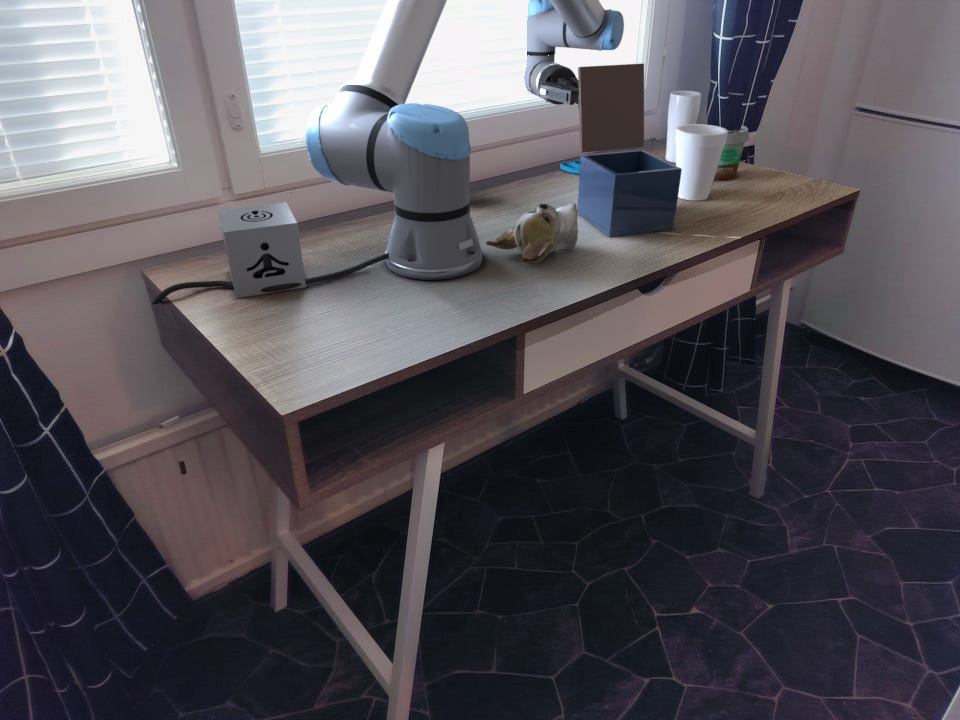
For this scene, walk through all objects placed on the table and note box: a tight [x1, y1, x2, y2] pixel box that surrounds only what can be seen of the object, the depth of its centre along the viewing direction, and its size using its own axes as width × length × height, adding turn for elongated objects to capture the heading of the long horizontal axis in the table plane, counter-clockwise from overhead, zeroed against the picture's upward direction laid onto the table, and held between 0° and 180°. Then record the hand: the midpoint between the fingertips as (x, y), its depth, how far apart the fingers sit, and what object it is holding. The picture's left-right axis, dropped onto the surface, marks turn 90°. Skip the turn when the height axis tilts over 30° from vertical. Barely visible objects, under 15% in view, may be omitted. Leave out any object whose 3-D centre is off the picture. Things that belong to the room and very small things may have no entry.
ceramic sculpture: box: [485, 202, 579, 264], centre depth 115 cm, size 11×9×15 cm
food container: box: [713, 124, 750, 181], centre depth 152 cm, size 12×6×10 cm, turn 111°
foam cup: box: [675, 123, 728, 202], centre depth 140 cm, size 10×9×13 cm
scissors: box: [559, 159, 581, 175], centre depth 155 cm, size 7×1×20 cm
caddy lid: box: [577, 62, 645, 153], centre depth 128 cm, size 14×13×1 cm
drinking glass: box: [665, 90, 702, 164], centre depth 162 cm, size 7×7×15 cm
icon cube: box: [217, 201, 307, 299], centre depth 106 cm, size 10×10×10 cm
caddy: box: [576, 149, 682, 238], centre depth 128 cm, size 14×13×11 cm
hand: (604, 104), depth 131 cm, fingers closed
